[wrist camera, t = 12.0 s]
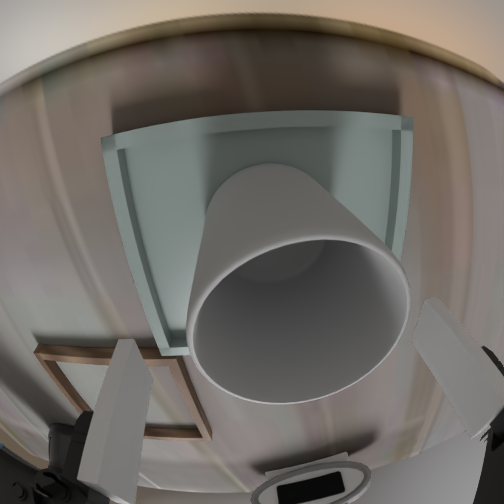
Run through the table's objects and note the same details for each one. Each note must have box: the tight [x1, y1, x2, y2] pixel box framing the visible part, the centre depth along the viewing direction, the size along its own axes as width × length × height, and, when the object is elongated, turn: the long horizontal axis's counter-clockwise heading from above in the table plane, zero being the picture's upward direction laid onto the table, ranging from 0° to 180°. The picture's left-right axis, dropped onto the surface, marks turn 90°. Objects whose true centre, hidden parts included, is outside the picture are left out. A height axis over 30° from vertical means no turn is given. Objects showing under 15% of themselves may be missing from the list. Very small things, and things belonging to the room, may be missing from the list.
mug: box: [186, 163, 411, 404], centre depth 15 cm, size 12×8×11 cm
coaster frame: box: [34, 344, 212, 441], centre depth 28 cm, size 18×18×2 cm
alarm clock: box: [251, 451, 371, 504], centre depth 38 cm, size 23×6×13 cm, turn 110°
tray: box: [101, 110, 413, 356], centre depth 20 cm, size 20×18×2 cm
